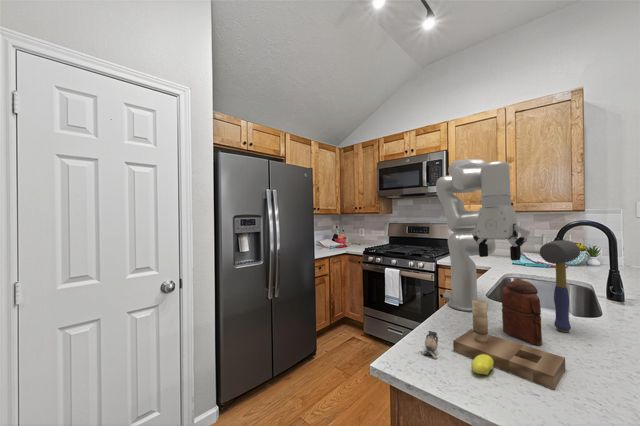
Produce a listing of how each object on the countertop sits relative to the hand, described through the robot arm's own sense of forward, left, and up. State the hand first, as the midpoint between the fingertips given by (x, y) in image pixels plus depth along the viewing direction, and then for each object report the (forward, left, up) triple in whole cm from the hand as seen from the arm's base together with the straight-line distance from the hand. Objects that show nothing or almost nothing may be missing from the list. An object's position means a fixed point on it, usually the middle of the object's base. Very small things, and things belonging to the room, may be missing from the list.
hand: (498, 258), depth 80 cm
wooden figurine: (+3, +9, -26) cm, 28 cm away
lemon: (+2, -20, -26) cm, 33 cm away
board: (+4, -10, -26) cm, 28 cm away
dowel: (-2, -10, -23) cm, 25 cm away
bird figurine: (-11, -21, -26) cm, 35 cm away
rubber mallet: (+10, +24, -26) cm, 37 cm away
